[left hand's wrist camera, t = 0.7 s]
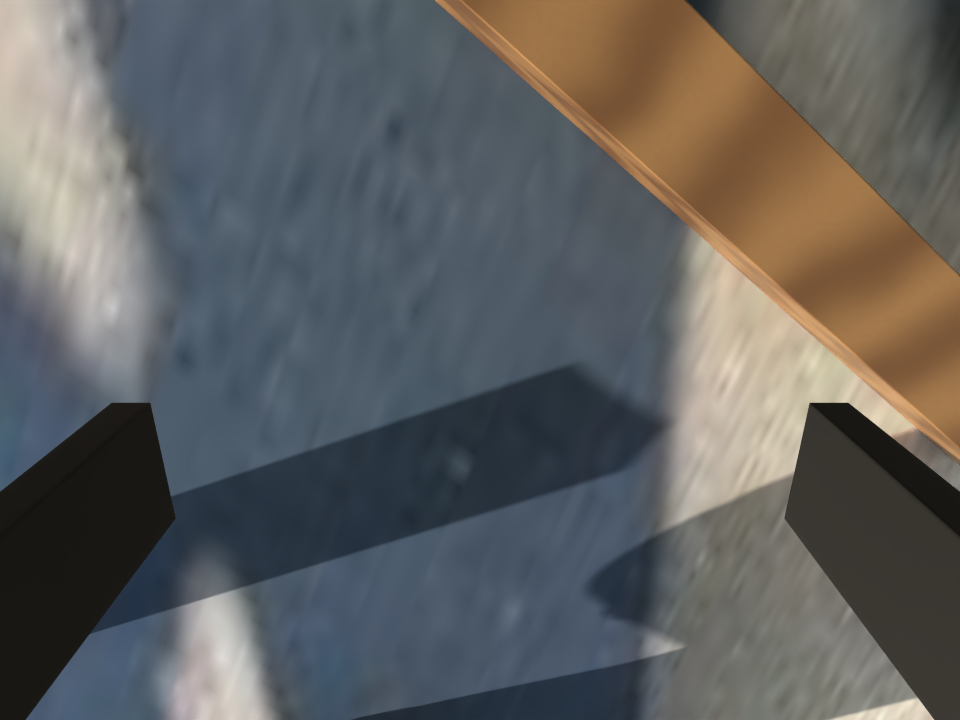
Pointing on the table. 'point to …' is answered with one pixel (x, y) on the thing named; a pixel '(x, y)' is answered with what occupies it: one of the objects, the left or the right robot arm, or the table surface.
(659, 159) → the beam
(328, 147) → the table surface
